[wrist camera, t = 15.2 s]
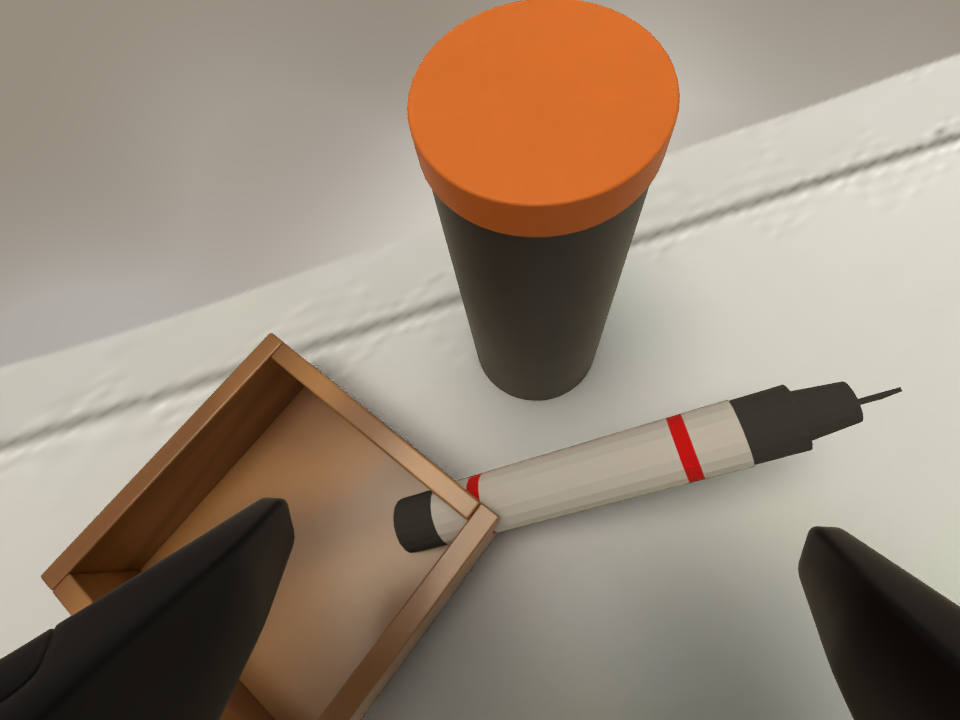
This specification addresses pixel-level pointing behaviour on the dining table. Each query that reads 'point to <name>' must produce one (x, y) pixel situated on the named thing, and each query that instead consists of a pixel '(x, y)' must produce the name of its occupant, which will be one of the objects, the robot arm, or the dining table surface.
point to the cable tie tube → (541, 174)
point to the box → (317, 526)
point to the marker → (640, 460)
